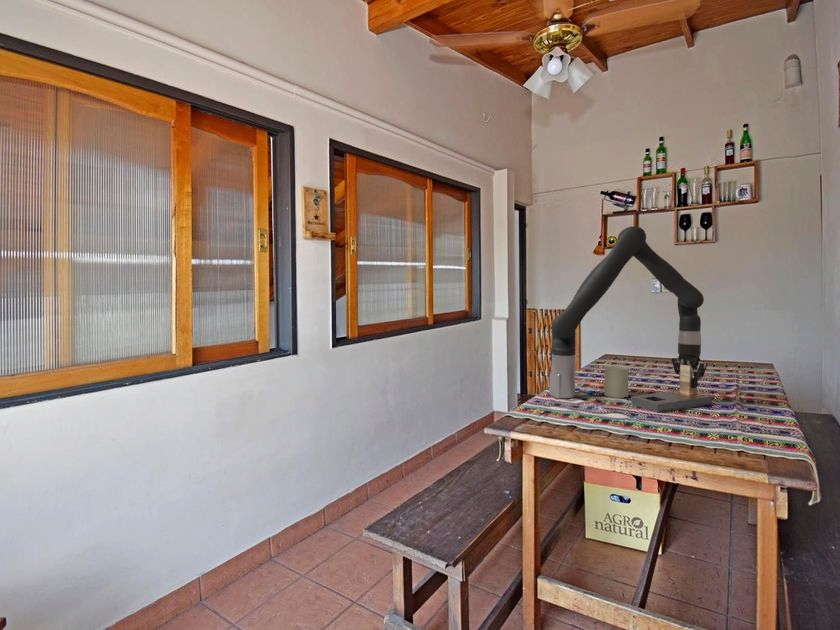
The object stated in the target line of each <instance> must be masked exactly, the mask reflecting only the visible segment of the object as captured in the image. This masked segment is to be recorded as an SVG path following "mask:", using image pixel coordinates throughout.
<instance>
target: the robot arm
mask: <svg viewBox="0 0 840 630" xmlns="http://www.w3.org/2000/svg"><path fill="white" fill-rule="evenodd" d="M633 257H634V258H635V259H636V260H638V262H640V263H641V264H642V265H643V266H644V267H645V268H646V269H647V270H648V271H649V272H650V273H651V274H652V276H653V277H654V278H655V279H656V280H657V281H658V282H659V283H660V284H661V285H662V286H663V288H664V289H666V290H667V291H669V292H670V293H672V294H673V295H675V296H676V298H677V311H678V316H679V323H678V325H679V328H678V329H679V330H678V338H677V353H678V357H672V358H671V363H672V366H673V370H674V373H675V374H677V375H678V376H679V377H680V365H687V366H690V372H691V377H692V378H691V388H696V387H697V388H698V386H699V385H698V384H699V381H698V380H699V379H700V378H703V377H704V376H705V373H706V370H707V367H708V363H707V362H703V361H701V358H700V356H701V353H702V333H701V325H702V323H701V322H702V321H701V320H702V319H701V317H700V315H699V313H698V311H699V310H698V308H700V307H702V305H703V304H704V301H705V299H704V295H703V294H702V292H701V291H700V290H699V289H698V288H697V287H695V285H693V284H692V283H690V282H689V281H688V280H687V279H685V278H684V277H683V275H682V274H681V273H680V272H679V271H677V269H676V268H675V267H673V266H672V265H671V264H670V262H668V261H666V260H665V259H664V258H663V257H662V256H660V255H659V254H658V253H656V251H654V250H653V248H651V247H650V245H649V244H648V242H647V234H646V231H645V229H643V228H642V227H640V226H628V227H626V228H624V229H623V230H621V231H620V232H619V234H618V235H617V242H616V243H615V244H614V246H613V248H612V249H611V250H610V252H609V253H608V254H607V255H606V256H605V257H604V258H603V259H602V260H601V261H600V262H599V263H598V264H597V265H596V266H595V267H594V268H593V269H592V270H591V272H590V273H589V274H588V275H587V276H586V278H585V279H584V280H583V282H582V283H581V284H580V286H579V288H578V290H577V291H576V293H575V295H574V297H573V299H572V300H571V301H570V302H569V304H568V305H567V306H566V308H565V309H564V310H563V311H562V312H561V313H560V314H559V315H557V316H556V317H555V318H554V319H553V320H552V323H551V371H550V372H549V394H548V395H549V396H552V397H555V398H556V399H572V398H575V397H576V330H577V328H578V327H579V325H580V323H581V322H582V321H583V319H584V317H585V316H586V315H587V314H588V313H589V312H590V310H591V309H592V308H593V307H594V306H595V305H597V303H598V302H599V301H600V300H601V298H603V296H604V295H605V294H606V293H607V291H608V290H609V289H610V288H611V286H612V285H613V284H614V282H615V280H617V277H618V276H619V275H620V273H621V272H622V270H624V267H625V266H626V265H627V263H628V262H629V261H630V260H631V259H632V258H633ZM695 368H696V370H693V369H695ZM694 372H695V374H694Z"/></svg>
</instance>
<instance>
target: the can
mask: <svg viewBox="0 0 840 630" xmlns="http://www.w3.org/2000/svg"><path fill="white" fill-rule="evenodd" d="M603 367H604V386H603V387H604V389H603V390H604V392H603V395H604V396H606V397H608V398H614V399H615V398H616V399H625V398H624V397H626V398H628V397H629V367H627V366H624V365H605V366H603Z"/></svg>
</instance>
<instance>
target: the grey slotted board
mask: <svg viewBox="0 0 840 630" xmlns="http://www.w3.org/2000/svg"><path fill="white" fill-rule="evenodd" d="M630 397H631V399H630V400H631V401H630V402H631V403H630V404H631V406H636V407H638V408H642V409H644V410H645V409H646V410H648V411H651V412H655V413H656V414H658V413H664V412H671V411H676V410H682V409H683V410H684V409H690V408H691V409H692V408H696V407H702V406H703V407H704V406H710V405H712V404H713V396H712V395H709V394H704V393H700V392H697V395H692V396H687V395H683V394H680V389H677V390H670V391H663V392H655V393H648V394H642V395H640V394H639V395H633V396H630Z"/></svg>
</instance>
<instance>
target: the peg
mask: <svg viewBox="0 0 840 630" xmlns="http://www.w3.org/2000/svg"><path fill="white" fill-rule="evenodd" d="M693 370H696V368H695V369H693ZM694 374H695V372H694ZM691 378H692V377H691V372H690V366H687V365H680V376H679V390H680V394H683V395H687V396H692V395H697V393H698V386H697V387H696V388H691Z"/></svg>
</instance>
